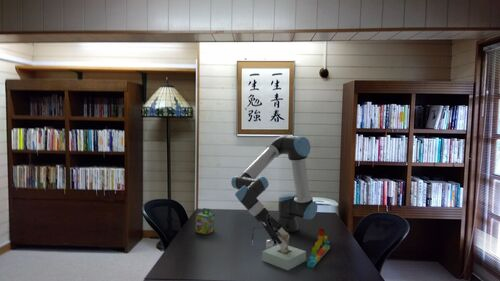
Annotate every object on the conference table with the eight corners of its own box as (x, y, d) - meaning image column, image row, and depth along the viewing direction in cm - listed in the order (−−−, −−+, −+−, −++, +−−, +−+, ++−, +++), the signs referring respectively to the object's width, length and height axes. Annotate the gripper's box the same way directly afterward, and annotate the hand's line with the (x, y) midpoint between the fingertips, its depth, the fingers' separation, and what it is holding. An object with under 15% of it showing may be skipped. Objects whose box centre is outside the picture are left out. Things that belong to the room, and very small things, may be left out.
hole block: (280, 252, 184) (281, 243, 184) (305, 260, 173) (306, 251, 173) (262, 260, 172) (262, 251, 172) (287, 270, 161) (288, 260, 161)
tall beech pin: (283, 258, 175) (284, 232, 175) (289, 260, 173) (290, 234, 172) (278, 260, 172) (279, 234, 172) (284, 263, 170) (285, 236, 169)
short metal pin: (269, 247, 191) (269, 238, 190) (274, 249, 188) (274, 240, 188) (264, 249, 188) (264, 240, 187) (270, 251, 185) (270, 242, 185)
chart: (313, 268, 165) (314, 238, 164) (307, 267, 167) (308, 237, 166) (330, 248, 192) (331, 223, 191) (324, 247, 193) (325, 222, 192)
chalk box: (195, 232, 211) (195, 209, 210) (202, 228, 220) (202, 206, 219) (207, 235, 208) (208, 211, 207) (214, 230, 216) (215, 208, 215)
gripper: (258, 210, 187) (283, 239, 185) (249, 223, 162) (278, 257, 160) (267, 201, 185) (293, 230, 183) (260, 213, 161) (290, 247, 159)
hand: (286, 242), depth 172 cm, fingers open, 13 cm apart
